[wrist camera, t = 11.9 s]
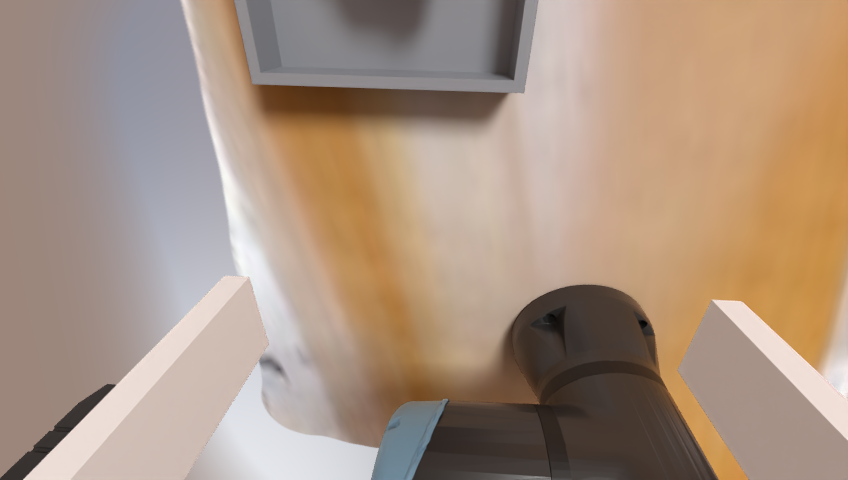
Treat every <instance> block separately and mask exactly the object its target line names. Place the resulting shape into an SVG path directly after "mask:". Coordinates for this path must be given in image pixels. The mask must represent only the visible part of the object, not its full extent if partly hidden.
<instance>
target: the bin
mask: <svg viewBox="0 0 848 480" xmlns="http://www.w3.org/2000/svg"><path fill="white" fill-rule="evenodd" d="M234 2H235V7H236V11H237V16H238V20H239V25H240V30H241V34H242V39H243V43H244V48H245V53H246V57H247V62H248V66H249V71H250V76H251V80H252V84H260V85H291V86H321V87H351V88H381V89H411V90H442V91H472V92H502V93H524V91H525V84H526V78H527V71H528V65H529V58H530V52H531V45H532V39H533V32H534V26H535V19H536V13H537V6H538V0H234Z"/></svg>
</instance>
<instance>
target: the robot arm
mask: <svg viewBox="0 0 848 480" xmlns="http://www.w3.org/2000/svg"><path fill="white" fill-rule="evenodd" d="M268 345H269V344H268V340H267V337H266V333H265V330H264V326H263V323H262V320H261V316H260V313H259V309H258V306H257V302H256V299H255V295H254V292H253V288H252V285H251V282H250V278H249V277H240V276H224V277H223V278H222V279H221V280H220V281H219V282H218V283H217V284H216V285H215V286H214V287H213V288H212V289H211V290H210V292H208V293H207V294H206V295H205V296H204V297H203V298H202V299H201V300H200V301H199V303H197V304H196V305H195V306H194V307H193V308H192V309H191V310H190V311H189V312H188V314H187V315H186V316H184V317H183V319H182V320H181V321H180V322H179V323H178V324H177V325H176V326H175V327H174V328H173V329H172V330H171V331H170V332H169V333H168V334H167V335H166V336H165V337H164V338H163V339H162V340H161V341H160V342H159V343H158V344H157V345H156V346H155V347H154V348H153V349H152V350H151V351H150V352H149V353H148V354H147V355H146V356H145V357H144V358H143V359H142V360H141V361H140V362H139V363H138V364H137V365H136V366H135V367H134V368H133V369H132V370H131V371H130V372H129V373H128V374H127V375H126V376H125V377H124V378H123V379H122V380H121V381H120V382H119V383H118V384H117V385H112V384H107V385H105V386H104V387H102V388H101V389H100V390H98V391H97V392H95V393H93V394H92V395H90V396H89V397H87V398H86V399H84V400H83V401H81V402H80V403H78V404H77V405H76V406H75V407H74V408H73V409H72V410H71V411H70V412H69V413H68V414H67V415H66V416H65V417H64V418H63V419H62V420H61V421H59V422H58V423H57V425H55V426H54V427H55V428H54V430H53V431H49V432H48V433H47V434H46V435H45V436H44V437H43V438H42V439H41V440H40V441H39V442H38V443H37V444H36V445H34V449H33V450H32V451H31V452H27V453H26V454H25V455H24V456H23V457H22V458H21V459H20V460H19V461H18V462H17V463H16V464H15V465H14V466H12V467H11V468H10V469H9V470H8V471H7V472H6V473H5V474H4V475H3V476H2V477H1V478H0V480H184V479H185V478H186V476H187V474H188V473H189V471H190V470H191V468H192V466H193V465H194V463H195V462H196V460H197V458H198V457H199V455H200V454H201V452H202V450H203V448H204V447H205V446H206V444H207V442H208V441H209V439H210V437H211V436H212V434H213V433H214V431H215V430H216V428H217V426H218V425H219V423H220V421H221V420H222V418H223V417H224V415H225V413H226V412H227V410H228V409H229V407H230V405H231V404H232V402H233V401H234V399H235V397H236V396H237V394H238V393H239V391H240V389H241V388H242V386H243V385H244V383H245V381H246V380H247V378H248V377H249V375H250V373H251V372H252V370H253V369H254V367H255V365H256V364H257V362H258V361H259V359H260V357H261V356H262V354H263V353H264V351H265V349H266V348H267V346H268ZM512 345H513V351H514V356H515V360H516V362H517V365H518V366H519V368H520V370H521V372H522V373H523V375H524V377H525V378H526V380H527V382H528V383H529V385H530V387H531V388H532V390H533V392H534V393H535V395H536V397H537V398H538V400H539V403H540V405H538V404H519V403H494V402H469V401H449V399H443V400H442V401H411V402H407V403H404V404H403V405H401V406H400V407H399V408H398V409H397V410H396V411H395V412H394V414H393V415H392V417H391V418H390V420H389V422H388V425H387V427H386V430H385V432H384V435H383V438H382V441H381V444H380V447H379V451H378V455H377V458H376V462H375V466H374V470H373V474H372V478H371V480H719V479H718V477H717V476H716V474H715V472H714V470H713V469H712V467H711V465H710V463H709V462H708V460H707V458H706V456H705V455H704V453H703V451H702V449H701V448H700V446H699V444H698V442H697V441H696V439H695V437H694V435H693V434H692V432H691V430H690V428H689V426H688V425H687V423H686V421H685V419H684V418H683V416H682V414H681V412H680V411H679V409H678V407H677V405H676V404H675V402H674V400H673V398H672V397H671V395H670V393H669V392H668V390H667V388H666V386H665V384H664V382H663V381H662V379H661V377H660V370H659V363H658V355H657V348H656V341H655V334H654V330H653V327H652V325H651V323H650V321H649V319H648V317H647V316H646V314H645V313H644V311H643V309H642V308H641V306H640V305H639V304H638V303H637V302H636V301H635V300H634V299H633V298H631V297H630V296H629V295H627V294H625V293H623V292H621V291H619V290H616V289H613V288H609V287H605V286H598V285H577V286H570V287H565V288H561V289H558V290H555V291H552V292H550V293H547V294H545V295H543V296H541V297H540V298H538V299H536V300H535V301H533V302H532V303H531V304H529V305H528V306H527V307H526V308H525V309H524V310H523V311H522V312H521V313H520V315H519V316H518V318H517V319H516V321H515V323H514V326H513V329H512ZM677 371H678V372H679V374H680V375H681V377H682V378H683V380H684V381H685V383H686V384H687V386H688V387H689V389H690V390H691V392H692V394H693V395H694V397H695V398H696V400H697V401H698V403H699V404H700V406H701V407H702V409H703V410H704V412H705V413H706V415H707V416H708V418H709V419H710V421H711V422H712V424H713V426H714V427H715V429H716V430H717V432H718V433H719V435H720V436H721V438H722V439H723V441H724V442H725V444H726V445H727V447H728V448H729V450H730V451H731V453H732V454H733V456H734V458H735V459H736V461H737V462H738V464H739V465H740V467H741V468H742V470H743V471H744V473H745V474H746V476H747V477H748V479H749V480H848V400H847V399H846V398H845V397H844V396H843V395H842V394H841V393H840V392H839V391H837V390H836V389H835V388H834V387H833V386H832V385H831V384H830V383H829V382H828V381H827V380H826V379H825V378H823V377H822V376H821V375H820V374H819V373H818V372H817V371H816V370H815V369H814V368H813V367H812V366H811V365H810V364H808V363H807V362H806V361H805V360H804V359H803V358H802V357H801V356H800V355H799V354H798V353H797V352H796V351H794V350H793V349H792V348H791V347H790V346H789V345H788V344H787V343H786V342H785V341H784V340H783V339H782V338H781V337H779V336H778V335H777V334H776V333H775V332H774V331H773V330H772V329H771V328H770V327H769V326H768V325H767V324H766V323H764V322H763V321H762V320H761V319H760V318H759V317H758V316H757V315H756V314H755V313H754V312H753V311H752V310H750V309H749V308H748V307H747V306H746V305H745V304H744V303H743V302H742V301H726V300H711V302H710V304H709V306H708V309H707V311H706V313H705V315H704V317H703V319H702V321H701V323H700V325H699V327H698V329H697V331H696V333H695V335H694V337H693V339H692V341H691V343H690V345H689V347H688V350H687V352H686V354H685V356H684V358H683V360H682V362H681V364H680V366H679V368H678V370H677Z"/></svg>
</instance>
